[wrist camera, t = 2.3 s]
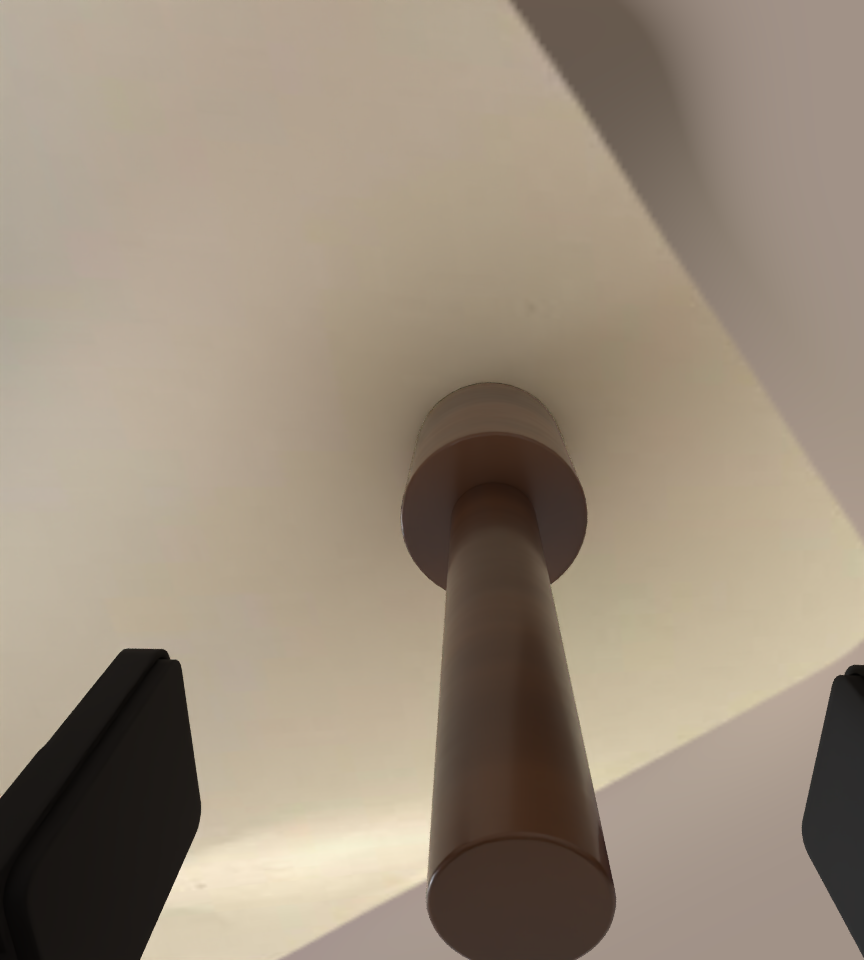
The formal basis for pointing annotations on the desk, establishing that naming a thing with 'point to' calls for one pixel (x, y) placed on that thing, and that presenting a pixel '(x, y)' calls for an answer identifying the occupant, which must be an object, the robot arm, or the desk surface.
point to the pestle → (505, 684)
